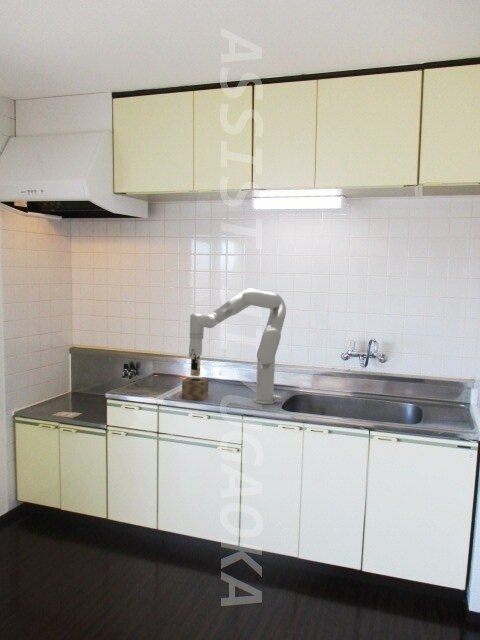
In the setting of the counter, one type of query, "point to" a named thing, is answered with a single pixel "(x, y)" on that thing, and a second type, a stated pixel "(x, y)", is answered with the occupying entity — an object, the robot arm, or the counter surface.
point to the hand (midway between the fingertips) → (195, 368)
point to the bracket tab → (196, 372)
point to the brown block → (195, 388)
